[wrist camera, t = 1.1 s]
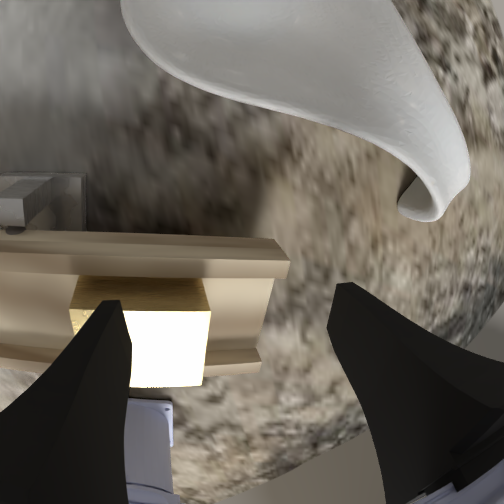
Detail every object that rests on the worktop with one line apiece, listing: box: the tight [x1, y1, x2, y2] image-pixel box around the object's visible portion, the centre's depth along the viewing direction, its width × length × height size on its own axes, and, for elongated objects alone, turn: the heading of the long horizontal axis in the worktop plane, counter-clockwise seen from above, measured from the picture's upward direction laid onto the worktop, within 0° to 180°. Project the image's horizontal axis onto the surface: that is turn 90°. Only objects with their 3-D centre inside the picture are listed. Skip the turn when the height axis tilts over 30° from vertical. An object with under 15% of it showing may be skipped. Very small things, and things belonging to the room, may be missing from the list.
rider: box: [69, 275, 211, 387], centre depth 14 cm, size 5×6×3 cm
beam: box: [0, 226, 291, 377], centre depth 13 cm, size 8×28×3 cm, turn 80°
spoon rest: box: [120, 0, 471, 222], centre depth 13 cm, size 24×12×7 cm, turn 50°
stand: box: [0, 172, 87, 232], centre depth 16 cm, size 12×6×5 cm, turn 170°
